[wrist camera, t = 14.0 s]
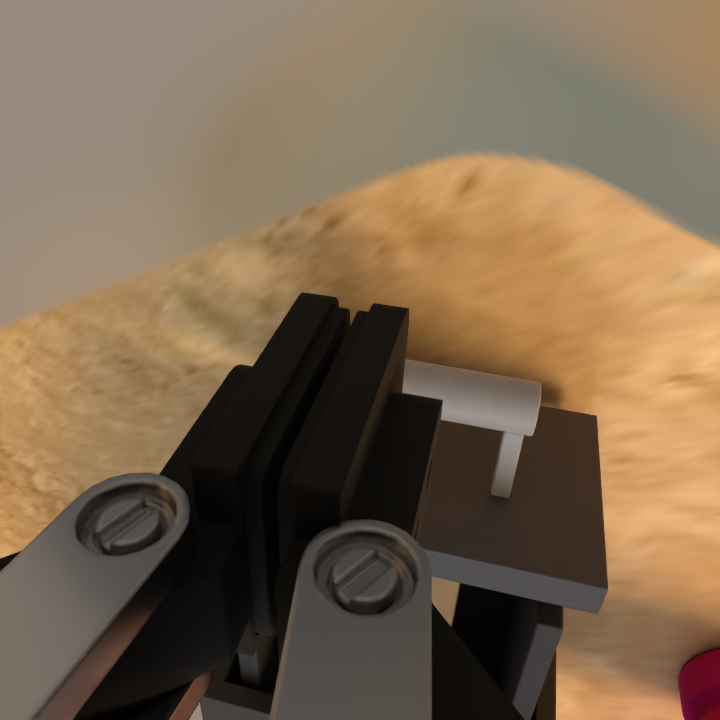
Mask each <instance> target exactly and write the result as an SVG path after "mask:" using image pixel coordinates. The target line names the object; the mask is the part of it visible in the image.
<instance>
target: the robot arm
mask: <svg viewBox="0 0 720 720" xmlns="http://www.w3.org/2000/svg"><path fill="white" fill-rule="evenodd" d="M408 325H409V309H408V308H402V307H395V306H389V305H382V304H376V303H374V304H373V305H372V306H371V308H370V310H369V312H366V311H360V310H359V311H358V312H357V313H356V315H355V318H354V320H353V322H352V324H351V326H350V311H349V309H347V308H341V307H339V301H338V299H337V298H336V297H330V296H323V295H316V294H310V293H301V294H300V295H299V296H298V298H297V299H296V301H295V302H294V304H293V306H292V307H291V309H290V310H289V312H288V313H287V315H286V316H285V318H284V319H283V321H282V322H281V324H280V326H279V327H278V329H277V330H276V332H275V333H274V335H273V336H272V338H271V339H270V341H269V342H268V344H267V346H266V347H265V349H264V350H263V352H262V353H261V355H260V356H259V358H258V359H257V361H256V362H255V364H254V366H253V367H252V366H246V365H237V366H235V367H234V368H233V369H232V370H231V371H230V373H229V374H228V376H227V377H226V379H225V380H224V381H223V383H222V384H221V386H220V387H219V389H218V390H217V392H216V393H215V394H214V396H213V397H212V399H211V400H210V402H209V403H208V405H207V406H206V408H205V409H204V410H203V412H202V413H201V415H200V416H199V418H198V419H197V421H196V422H195V423H194V425H193V426H192V428H191V429H190V431H189V432H188V434H187V435H186V436H185V438H184V439H183V441H182V442H181V444H180V445H179V447H178V448H177V449H176V451H175V452H174V454H173V455H172V457H171V458H170V460H169V461H168V462H167V464H166V465H165V467H164V468H163V470H162V471H161V473H160V474H159V475H156V474H151V473H128V474H124V475H120V476H116V477H112V478H109V479H107V480H104V481H102V482H100V483H98V484H96V485H94V486H92V487H90V488H89V489H88V490H86V491H85V492H84V493H82V494H81V495H80V496H78V497H77V498H76V499H75V500H74V501H73V502H72V503H71V504H70V505H69V506H68V507H67V508H66V509H65V510H64V511H63V512H62V513H61V514H59V515H58V516H57V517H56V518H55V519H54V520H53V521H52V522H51V523H50V524H49V525H48V526H47V527H46V528H45V529H44V530H43V531H42V532H41V533H40V534H39V535H38V536H37V537H36V538H35V539H34V540H33V541H31V542H30V543H29V544H28V545H27V546H26V547H25V548H24V549H23V550H22V551H20V552H17V553H15V554H12V555H9V556H6V557H4V558H1V559H0V720H189V719H190V717H191V715H192V714H193V712H194V710H195V709H196V707H197V706H198V704H199V702H200V701H201V699H202V697H203V696H204V694H205V693H206V691H207V688H208V686H209V684H210V681H211V679H212V677H213V670H214V669H216V668H218V667H220V666H222V665H224V664H226V663H228V662H230V661H232V659H233V657H234V655H235V652H236V653H240V654H244V655H248V656H252V657H253V656H254V654H255V651H256V649H257V646H258V644H259V641H260V639H261V636H262V634H265V635H269V636H273V635H275V633H276V631H277V633H278V652H279V671H278V676H277V681H276V686H275V691H274V697H273V702H272V707H271V712H270V717H269V720H525V719H524V718H523V717H522V715H521V714H520V713H519V712H518V710H517V709H516V708H515V706H514V705H513V704H512V703H511V701H510V700H509V699H508V698H507V696H506V695H505V694H504V693H503V691H502V690H501V689H500V688H499V686H498V685H497V684H496V683H495V681H494V680H493V679H492V678H491V676H490V675H489V674H488V673H487V671H486V670H485V669H484V667H483V666H482V665H481V664H480V662H479V661H478V660H477V659H476V657H475V656H474V655H473V654H472V652H471V651H470V650H469V649H468V647H467V646H466V645H465V644H464V642H463V641H462V640H461V639H460V637H459V636H458V635H457V634H456V632H455V631H454V630H453V628H452V627H451V626H450V625H449V623H448V622H447V621H446V620H445V618H444V617H443V616H442V615H441V613H440V612H439V611H438V610H437V608H436V607H435V606H434V605H433V603H432V575H431V570H430V565H429V560H428V557H427V556H426V554H425V552H424V551H423V549H422V547H421V546H420V544H419V543H418V540H419V536H420V531H421V526H422V522H423V517H424V512H425V507H426V503H427V498H428V493H429V488H430V483H431V478H432V473H433V467H434V461H435V455H436V449H437V442H438V436H439V428H440V421H441V414H442V405H443V400H441V399H435V398H430V397H424V396H418V395H412V394H407V393H402V389H403V379H404V368H405V357H406V347H407V336H408Z"/></svg>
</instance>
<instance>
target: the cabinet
mask: <svg viewBox="0 0 720 720" xmlns="http://www.w3.org/2000/svg"><path fill="white" fill-rule="evenodd" d="M273 697H274V695H273V694H269V693H266V692H262V691H258V690H254V689H251V688H247V687H243V686H242V681H241V673H240V665H239V656H238V653H236V652H235V655H234V657H233V659H232V661H230V662H228V663H226V664H224V665H222V666H220V667H218V668H216V669H214V670H213V677H212V679H211V681H210V684H209V686H208V688H207V691H206V693H205V694H204V696H203V697H202V699H201V701H200V706H201V711H202V716H203V720H269V717H270V712H271V707H272V702H273ZM531 720H556V651H555V653H554V656H553V659H552V662H551V665H550V667H549V670H548V673H547V676H546V678H545V681H544V684H543V687H542V690H541V692H540V695H539V698H538V701H537V703H536V706H535V709H534V712H533V715H532V717H531Z"/></svg>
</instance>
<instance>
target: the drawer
mask: <svg viewBox="0 0 720 720" xmlns="http://www.w3.org/2000/svg"><path fill="white" fill-rule="evenodd" d="M541 392H542V384H541V382H538V381H533V380H527V379H521V378H515V377H509V376H503V375H497V374H491V373H486V372H480V371H474V370H468V369H462V368H456V367H450V366H444V365H438V364H433V363H427V362H421V361H415V360H409V359H405V368H404V379H403V389H402V393H407V394H412V395H418V396H424V397H430V398H435V399H441V400H443V405H442V414H441V421H440V428H439V436H438V442H437V449H436V455H435V461H434V467H433V473H432V478H431V483H430V488H429V493H428V498H427V503H426V507H425V512H424V517H423V522H422V526H421V531H420V536H419V540H418V543H419V544H420V546H421V547H422V549H423V551H424V552H425V554H426V556H427V557H428V560H429V565H430V570H431V575H432V577H436V578H440V579H445V580H449V581H454V582H458V583H460V588H459V594H458V599H457V604H456V609H455V614H454V619H453V624H452V628H453V630H454V631H455V632H456V634H457V635H458V636H459V637H460V639H461V640H462V641H463V642H464V644H465V645H466V646H467V647H468V649H469V650H470V651H471V652H472V654H473V655H474V656H475V657H476V659H477V660H478V661H479V662H480V664H481V665H482V666H483V667H484V669H485V670H486V671H487V673H488V674H489V675H490V676H491V678H492V679H493V680H494V681H495V683H496V684H497V685H498V686H499V688H500V689H501V690H502V691H503V693H504V694H505V695H506V696H507V698H508V699H509V700H510V701H511V703H512V704H513V705H514V706H515V708H516V709H517V710H518V712H519V713H520V714H521V715H522V717H523V718H524V719H525V720H531V717H532V715H533V712H534V709H535V706H536V703H537V701H538V698H539V695H540V692H541V690H542V687H543V684H544V681H545V678H546V676H547V673H548V670H549V667H550V665H551V662H552V659H553V656H554V653H555V651H556V648H557V645H558V642H559V640H560V637H561V634H562V631H563V606H564V607H568V608H573V609H577V610H582V611H586V612H590V613H595V614H598V613H599V610H600V608H601V606H602V603H603V601H604V598H605V596H606V593H607V591H608V579H607V564H606V549H605V533H604V518H603V503H602V488H601V473H600V458H599V443H598V428H597V416H595V415H589V414H584V413H578V412H572V411H567V410H561V409H555V408H550V407H544V406H540V401H541ZM238 656H239V665H240V673H241V681H242V686H243V687H247V688H251V689H254V690H258V691H262V692H266V693H269V694H273V695H274V691H275V686H276V681H277V676H278V671H279V652H278V633H277V631H276V633H275V635H273V636H269V635H265V634H262V636H261V639H260V641H259V644H258V646H257V649H256V651H255V654H254V656H253V657H252V656H248V655H244V654H240V653H238Z"/></svg>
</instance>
